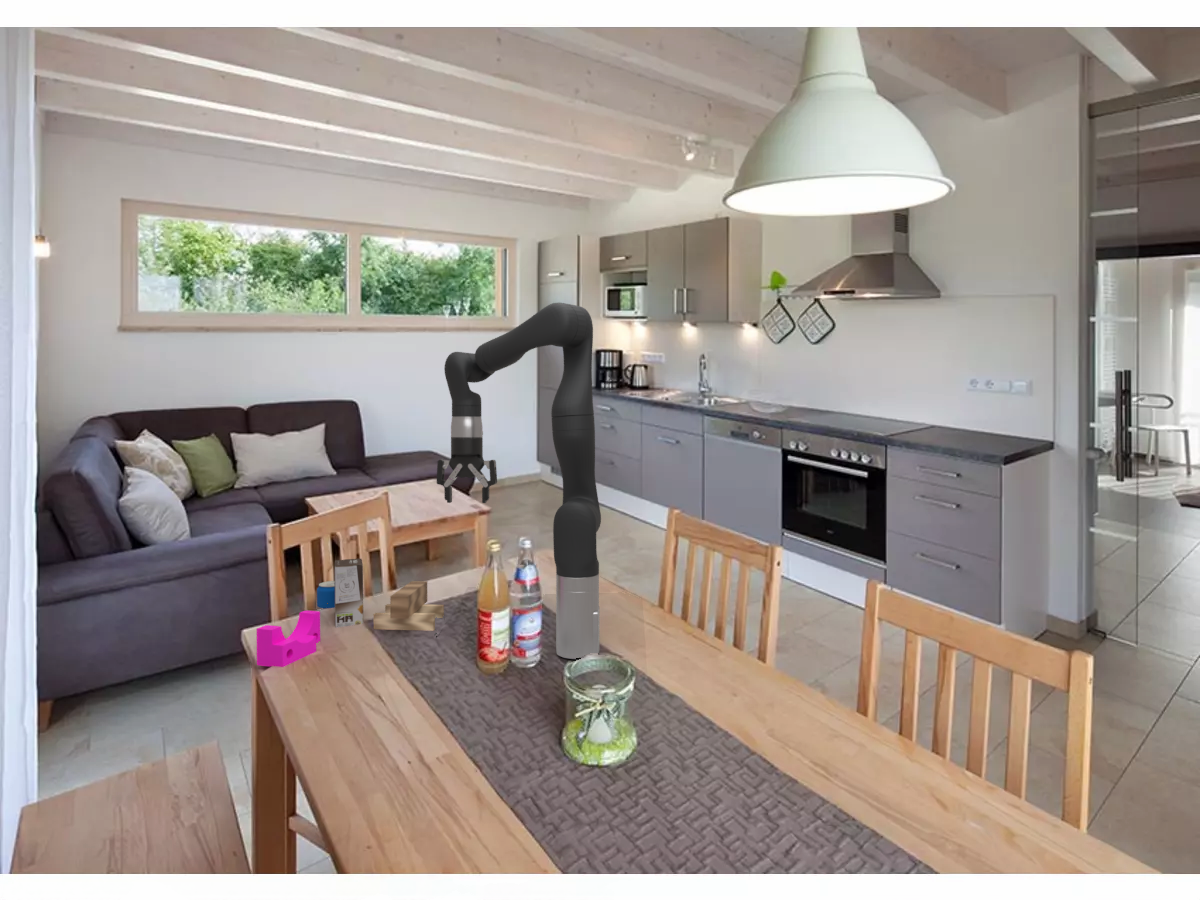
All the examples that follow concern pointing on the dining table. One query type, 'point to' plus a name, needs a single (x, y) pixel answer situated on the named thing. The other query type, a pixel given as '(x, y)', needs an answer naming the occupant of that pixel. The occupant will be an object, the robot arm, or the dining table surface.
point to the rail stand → (410, 619)
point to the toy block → (288, 641)
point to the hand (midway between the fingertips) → (467, 502)
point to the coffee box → (348, 592)
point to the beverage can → (326, 594)
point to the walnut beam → (408, 599)
